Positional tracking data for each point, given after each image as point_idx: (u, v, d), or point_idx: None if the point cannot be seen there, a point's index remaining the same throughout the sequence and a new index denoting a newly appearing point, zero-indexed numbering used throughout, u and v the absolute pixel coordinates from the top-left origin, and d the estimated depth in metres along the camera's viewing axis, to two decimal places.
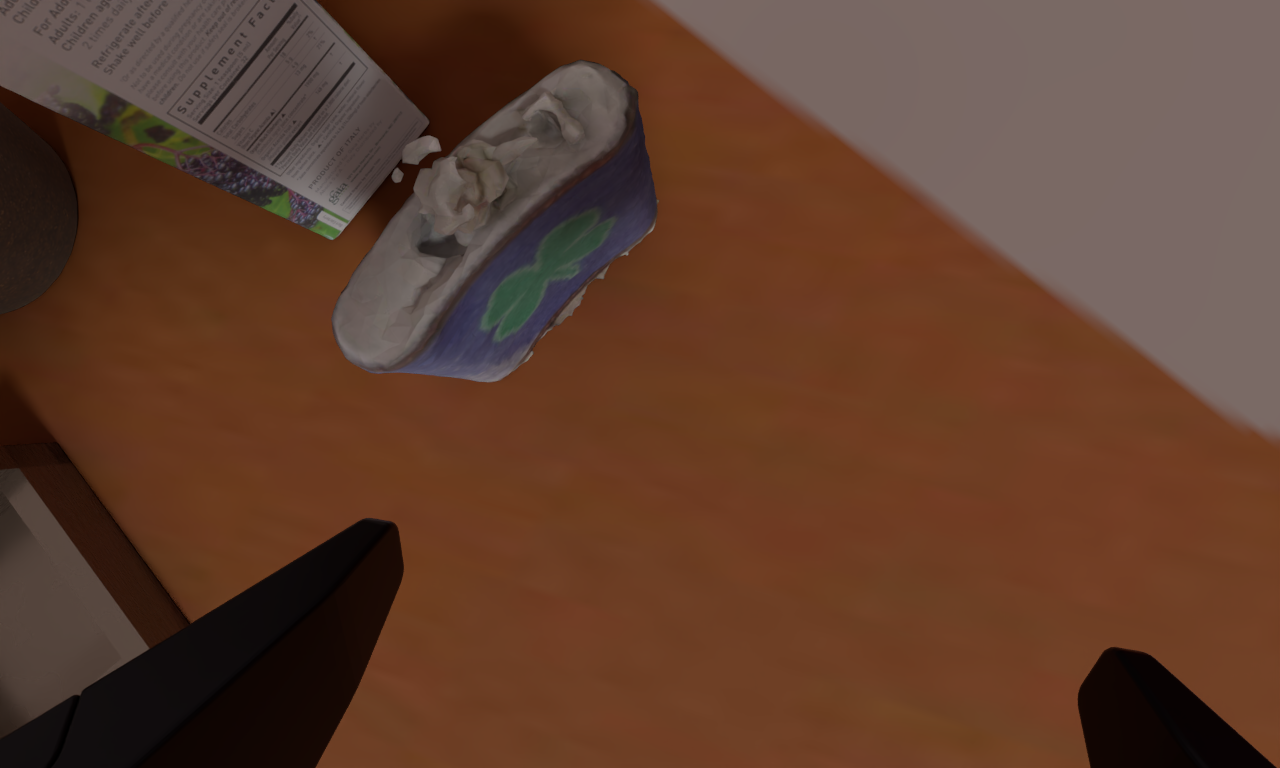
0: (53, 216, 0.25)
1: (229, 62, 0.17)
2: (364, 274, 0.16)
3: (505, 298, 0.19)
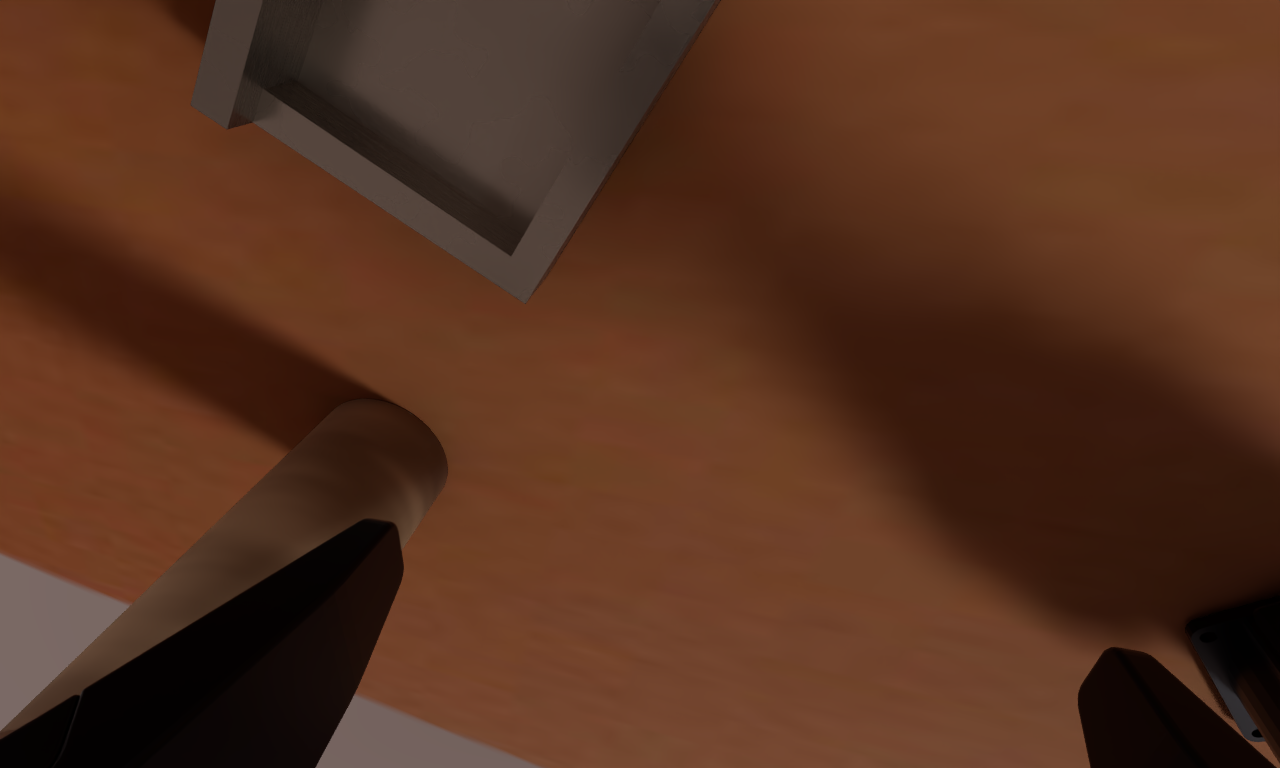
0: None
1: None
2: None
3: None
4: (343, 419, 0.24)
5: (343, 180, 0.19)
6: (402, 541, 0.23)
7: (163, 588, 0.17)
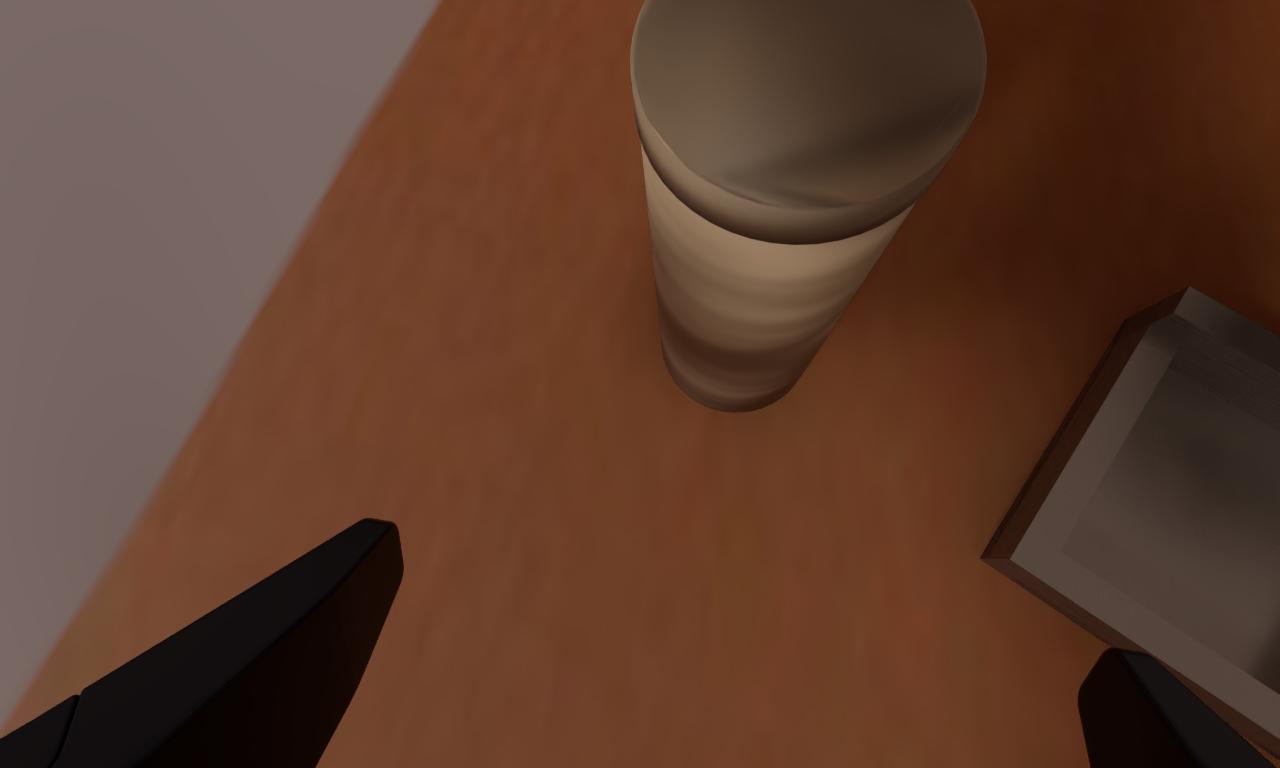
0: None
1: None
2: None
3: None
4: None
5: (1110, 396, 0.20)
6: (721, 383, 0.20)
7: None
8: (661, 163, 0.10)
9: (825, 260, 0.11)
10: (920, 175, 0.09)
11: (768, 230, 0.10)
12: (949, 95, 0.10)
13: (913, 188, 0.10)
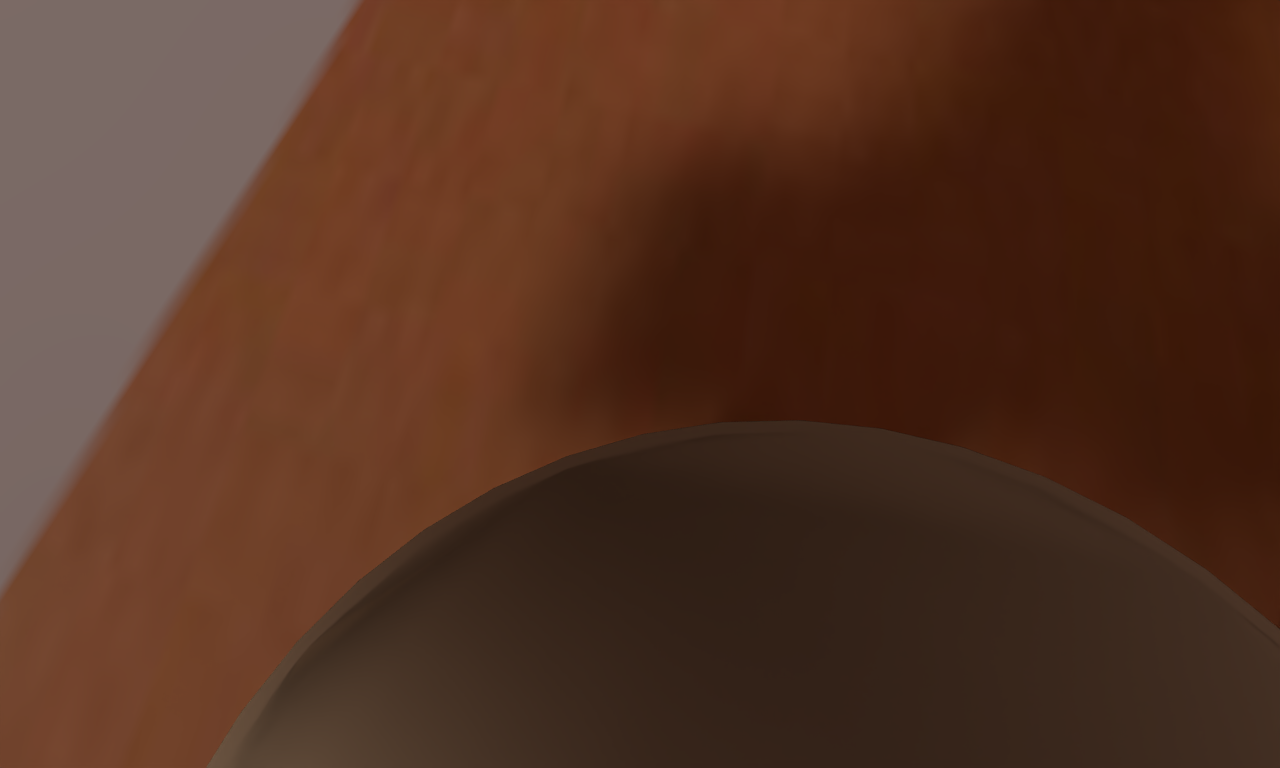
0: None
1: None
2: None
3: None
4: None
5: None
6: None
7: None
8: None
9: None
10: None
11: None
12: None
13: None
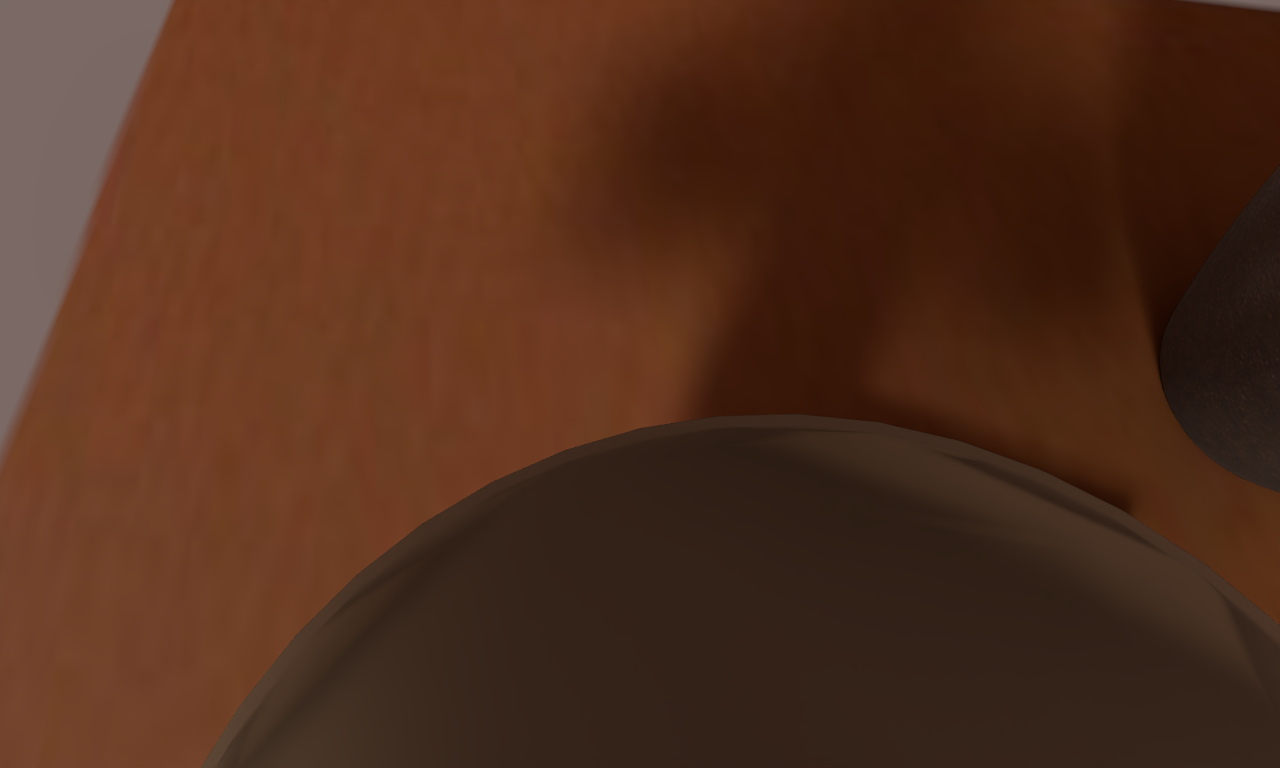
0: None
1: None
2: None
3: None
4: None
5: None
6: None
7: None
8: None
9: None
10: None
11: None
12: None
13: None
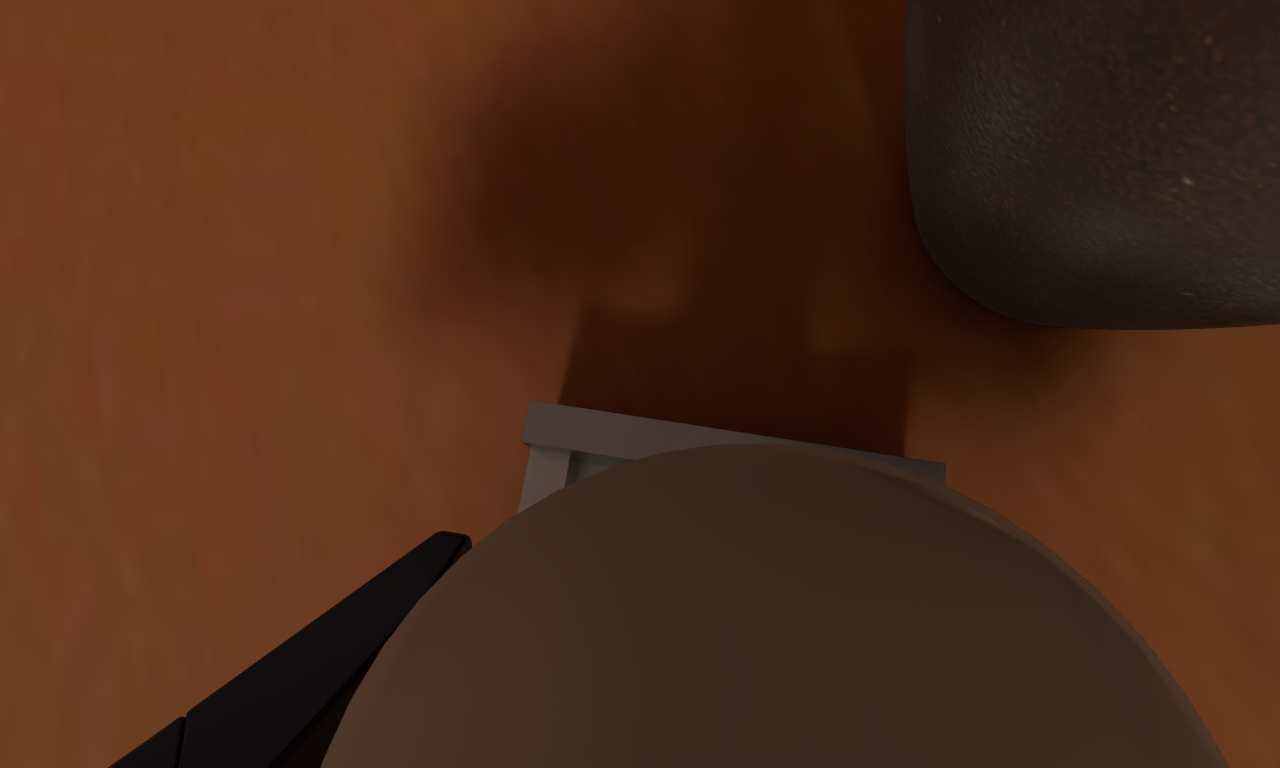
0: None
1: None
2: None
3: None
4: None
5: None
6: None
7: None
8: None
9: None
10: None
11: None
12: None
13: None
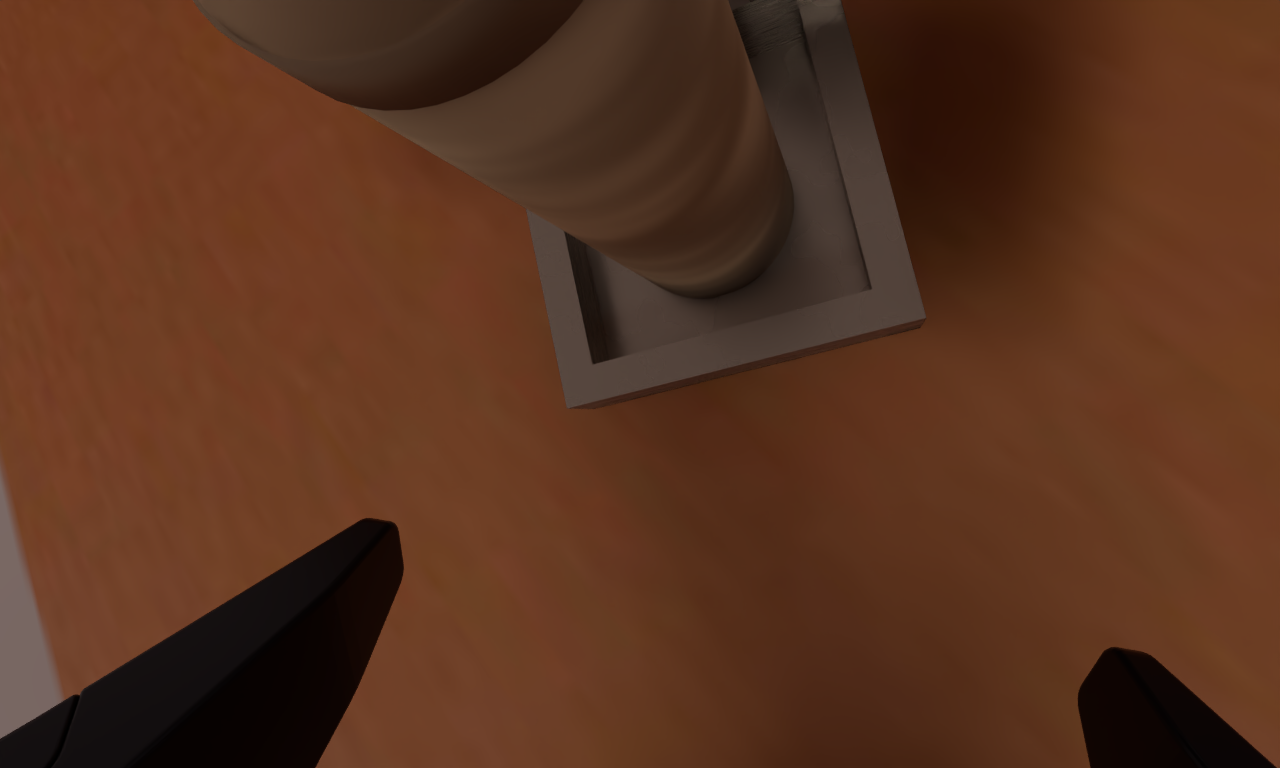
0: None
1: None
2: None
3: None
4: None
5: None
6: (679, 272, 0.16)
7: None
8: (275, 66, 0.07)
9: (575, 78, 0.08)
10: None
11: (435, 81, 0.07)
12: None
13: None
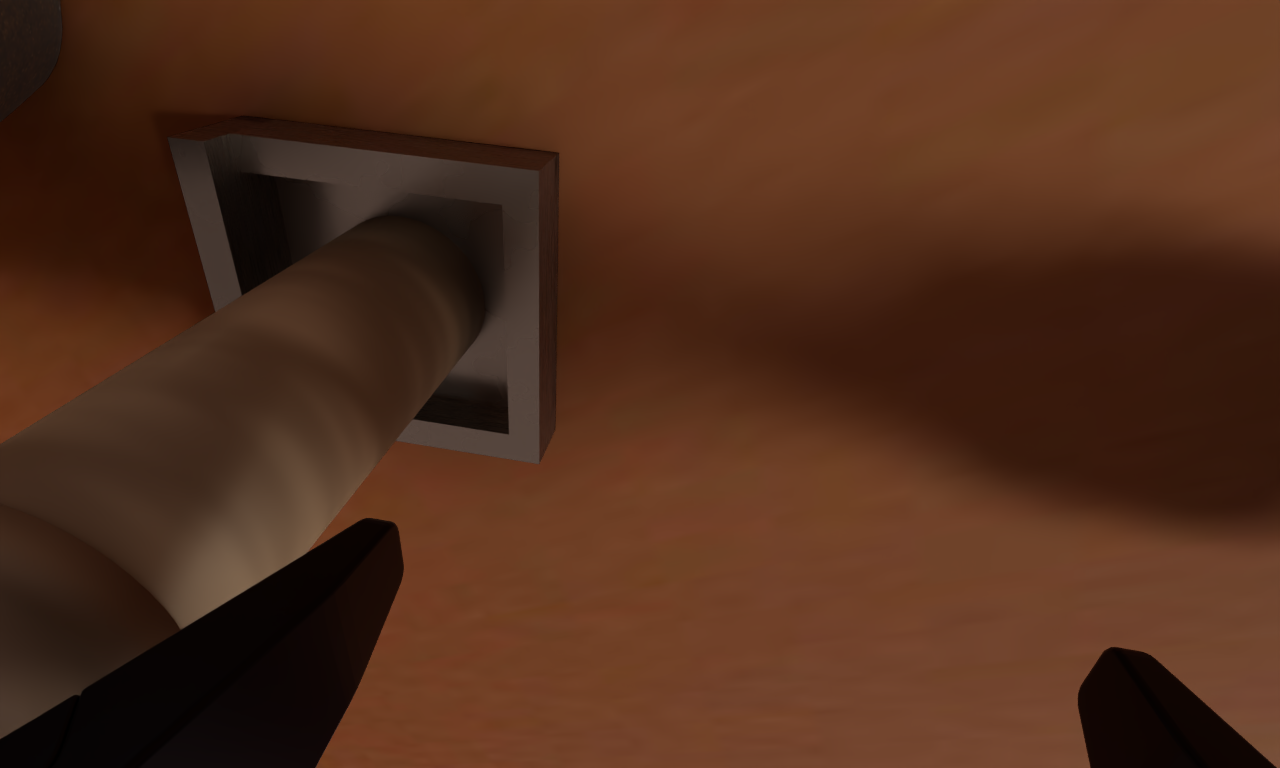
0: None
1: None
2: None
3: None
4: (356, 231, 0.19)
5: None
6: (437, 369, 0.19)
7: (130, 366, 0.13)
8: None
9: (201, 567, 0.11)
10: (42, 620, 0.09)
11: None
12: None
13: (62, 610, 0.09)
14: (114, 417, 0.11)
